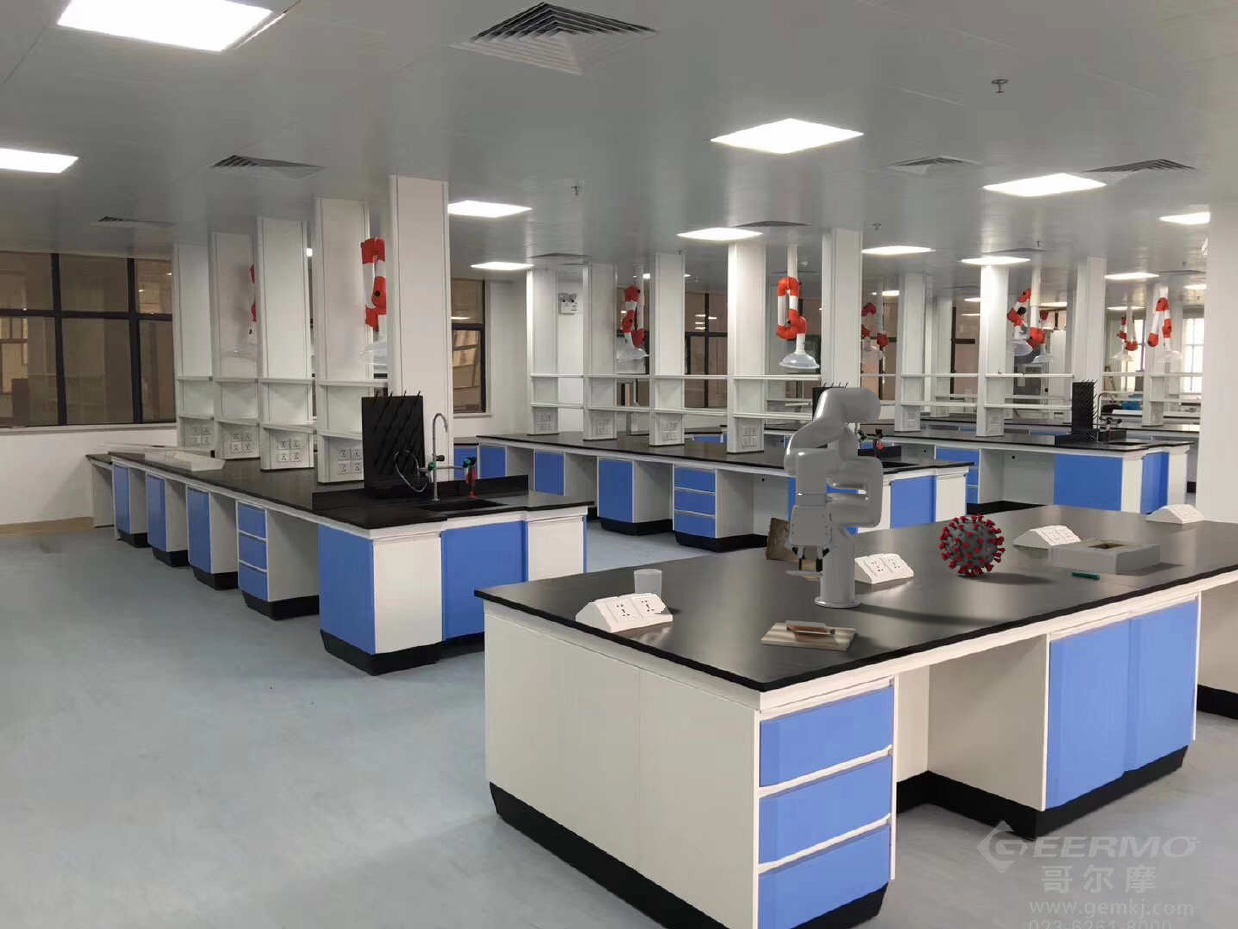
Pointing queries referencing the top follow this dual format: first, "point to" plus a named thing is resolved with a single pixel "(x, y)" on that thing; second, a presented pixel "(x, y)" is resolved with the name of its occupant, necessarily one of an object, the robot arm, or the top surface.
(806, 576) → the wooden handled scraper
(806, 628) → the tile
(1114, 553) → the box
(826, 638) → the board
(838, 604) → the robot arm
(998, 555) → the virus model
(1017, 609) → the top surface
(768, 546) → the mineral sample
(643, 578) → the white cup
